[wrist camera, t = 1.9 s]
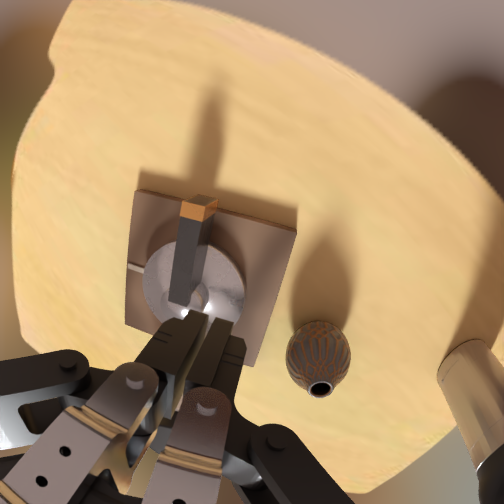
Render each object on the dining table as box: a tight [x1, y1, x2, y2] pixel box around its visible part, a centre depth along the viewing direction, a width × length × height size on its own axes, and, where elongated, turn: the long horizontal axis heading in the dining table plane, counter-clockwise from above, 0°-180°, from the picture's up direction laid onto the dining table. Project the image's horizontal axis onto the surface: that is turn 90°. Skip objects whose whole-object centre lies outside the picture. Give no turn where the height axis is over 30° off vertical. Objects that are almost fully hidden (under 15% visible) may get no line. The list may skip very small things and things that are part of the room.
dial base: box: [125, 189, 297, 367], centre depth 31 cm, size 17×17×2 cm
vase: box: [286, 321, 351, 398], centre depth 28 cm, size 7×7×9 cm
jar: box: [149, 395, 183, 454], centre depth 31 cm, size 9×8×12 cm
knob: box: [142, 194, 246, 337], centre depth 27 cm, size 16×11×6 cm
